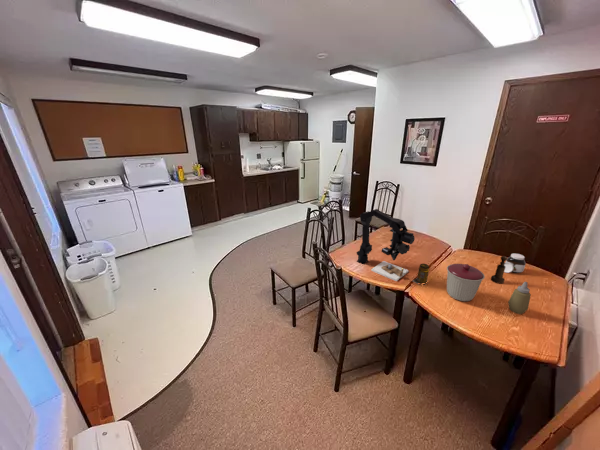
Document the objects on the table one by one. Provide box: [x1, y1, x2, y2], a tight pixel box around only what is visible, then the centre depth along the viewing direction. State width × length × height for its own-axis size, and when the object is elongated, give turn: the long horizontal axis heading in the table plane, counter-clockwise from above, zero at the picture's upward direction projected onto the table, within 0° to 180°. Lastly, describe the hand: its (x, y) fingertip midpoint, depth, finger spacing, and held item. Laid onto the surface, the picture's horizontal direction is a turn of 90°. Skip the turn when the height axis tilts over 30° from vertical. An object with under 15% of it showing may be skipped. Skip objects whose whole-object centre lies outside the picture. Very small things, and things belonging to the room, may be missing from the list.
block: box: [382, 265, 403, 278], centre depth 167 cm, size 14×8×3 cm, turn 26°
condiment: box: [411, 263, 430, 285], centre depth 156 cm, size 7×8×12 cm
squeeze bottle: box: [507, 281, 532, 315], centre depth 127 cm, size 8×8×18 cm
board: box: [371, 260, 409, 282], centre depth 170 cm, size 19×17×5 cm
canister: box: [446, 263, 486, 302], centre depth 139 cm, size 18×18×21 cm
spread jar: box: [504, 253, 527, 274], centre depth 164 cm, size 12×11×12 cm
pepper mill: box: [490, 255, 508, 284], centre depth 153 cm, size 7×6×18 cm
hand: (393, 260), depth 161 cm, fingers closed
